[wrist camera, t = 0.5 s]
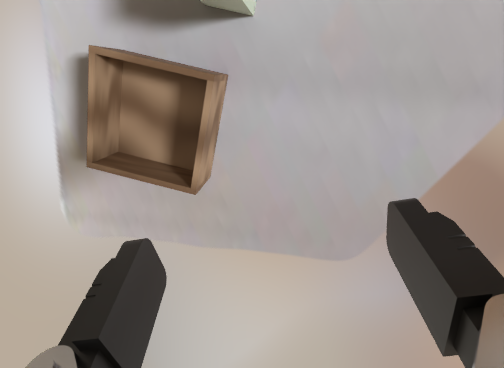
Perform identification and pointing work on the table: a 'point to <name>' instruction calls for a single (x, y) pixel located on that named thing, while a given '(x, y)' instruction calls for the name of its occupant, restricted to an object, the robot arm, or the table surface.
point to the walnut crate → (152, 118)
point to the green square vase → (233, 5)
